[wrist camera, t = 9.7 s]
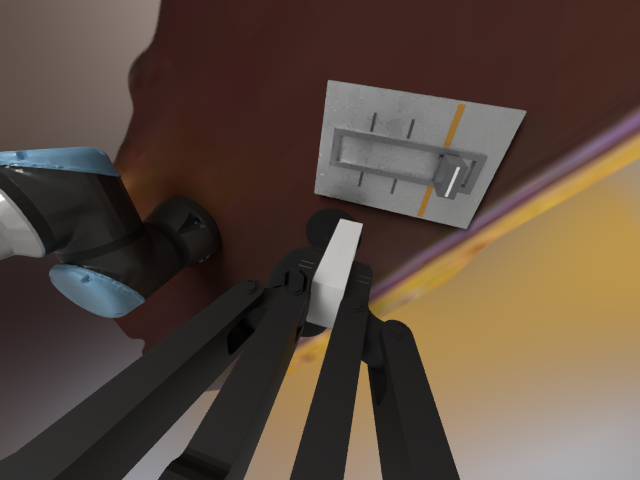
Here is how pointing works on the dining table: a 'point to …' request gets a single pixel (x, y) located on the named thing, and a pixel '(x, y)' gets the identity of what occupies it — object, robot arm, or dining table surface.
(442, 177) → the fader knob
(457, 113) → the console
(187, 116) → the dining table surface
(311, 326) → the wine glass
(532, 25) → the dining table surface
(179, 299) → the dining table surface
